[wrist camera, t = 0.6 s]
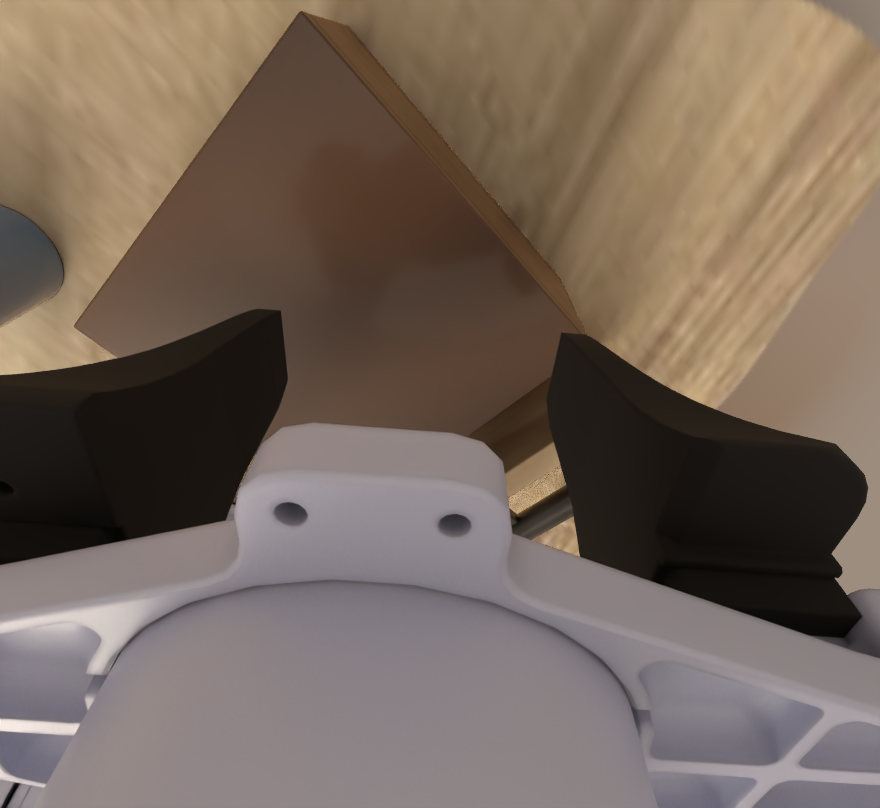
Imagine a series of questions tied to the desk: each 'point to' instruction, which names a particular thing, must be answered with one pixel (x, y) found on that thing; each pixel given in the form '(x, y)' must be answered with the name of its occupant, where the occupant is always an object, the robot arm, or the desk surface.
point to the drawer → (527, 459)
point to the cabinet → (344, 252)
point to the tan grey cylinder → (25, 266)
